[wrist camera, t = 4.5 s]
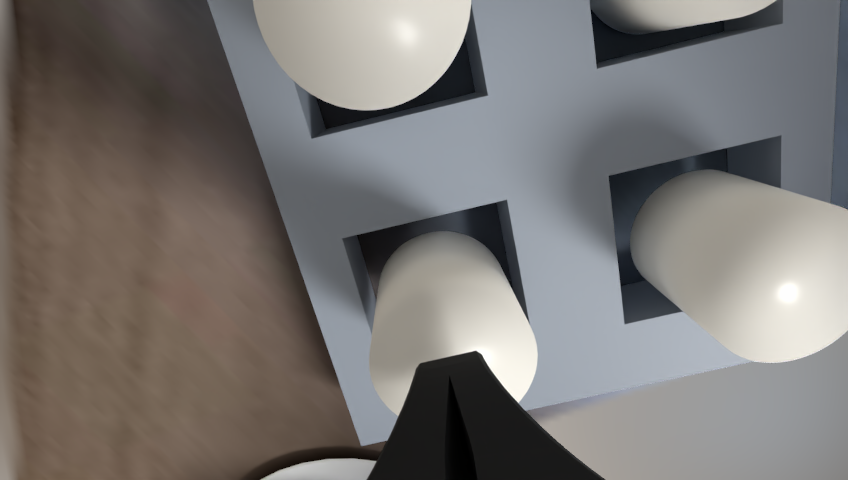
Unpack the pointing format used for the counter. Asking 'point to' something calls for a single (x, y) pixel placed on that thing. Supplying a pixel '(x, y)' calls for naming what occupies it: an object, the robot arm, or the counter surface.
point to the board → (541, 174)
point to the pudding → (326, 470)
